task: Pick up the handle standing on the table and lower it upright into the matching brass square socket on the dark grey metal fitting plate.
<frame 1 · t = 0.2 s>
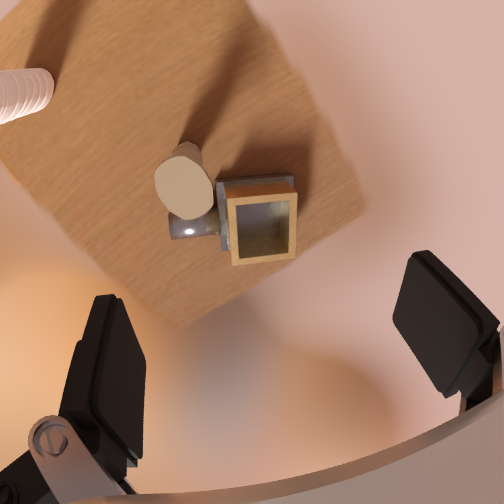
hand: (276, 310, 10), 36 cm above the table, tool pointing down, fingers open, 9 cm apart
handle: (187, 151, 41), on the table
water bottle: (41, 83, 31), on the table
socket: (254, 210, 47), on the table
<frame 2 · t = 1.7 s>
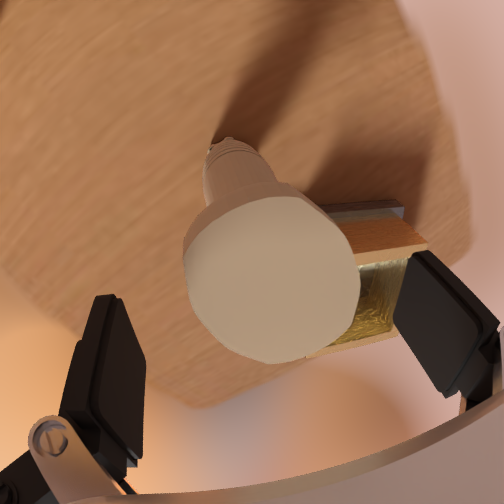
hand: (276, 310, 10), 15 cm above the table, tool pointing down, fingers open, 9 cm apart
handle: (228, 156, 22), on the table
socket: (335, 258, 28), on the table
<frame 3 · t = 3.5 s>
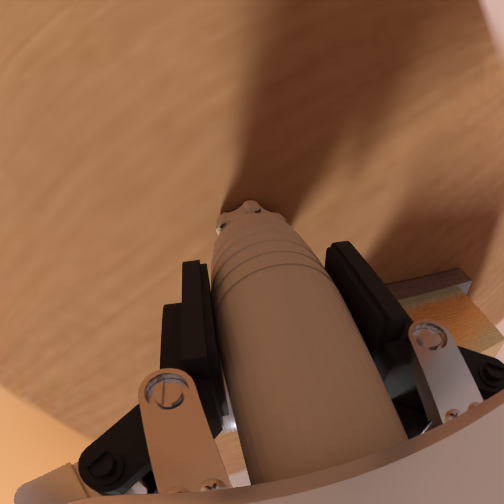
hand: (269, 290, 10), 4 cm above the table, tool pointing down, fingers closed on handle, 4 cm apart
handle: (248, 229, 14), on the table, touching gripper
socket: (380, 343, 20), on the table
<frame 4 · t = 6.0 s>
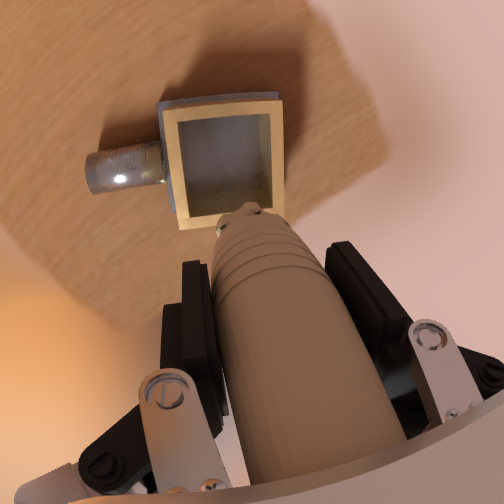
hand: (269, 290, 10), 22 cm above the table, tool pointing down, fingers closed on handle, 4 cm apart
handle: (248, 230, 14), point 18 cm above the table, touching gripper
socket: (221, 149, 29), on the table
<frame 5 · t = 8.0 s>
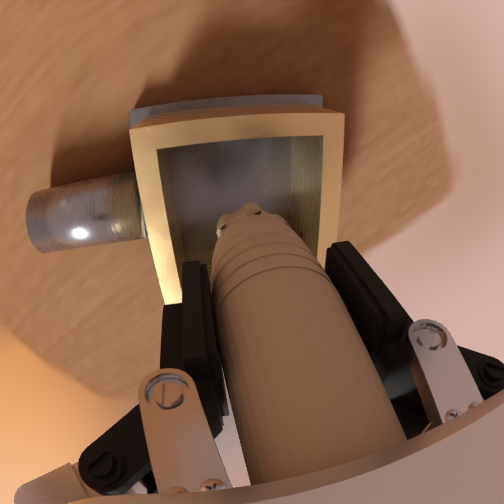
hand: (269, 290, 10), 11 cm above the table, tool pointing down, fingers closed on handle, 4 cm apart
handle: (248, 231, 14), point 7 cm above the table, touching gripper
socket: (231, 181, 20), on the table
when the fingers open (8 cm above the table, at t = 9.0 s): handle drops 2 cm, resting on socket.
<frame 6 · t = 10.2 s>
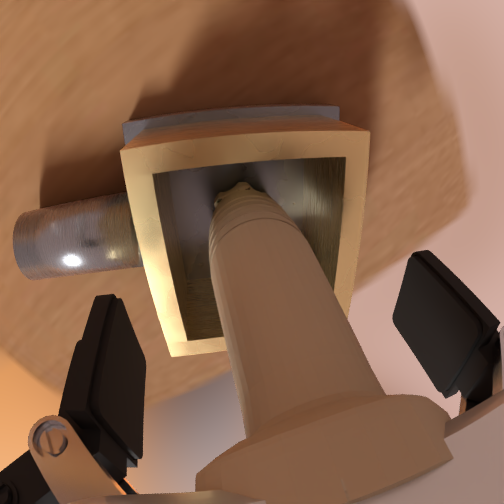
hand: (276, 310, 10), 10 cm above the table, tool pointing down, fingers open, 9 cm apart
handle: (240, 207, 17), point 1 cm above the table, touching socket
socket: (237, 201, 18), on the table
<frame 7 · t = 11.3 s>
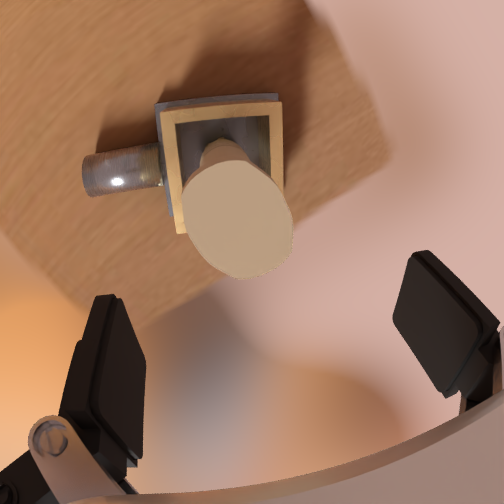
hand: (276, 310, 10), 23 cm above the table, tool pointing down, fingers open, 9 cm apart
handle: (221, 153, 28), point 1 cm above the table, touching socket
socket: (219, 151, 29), on the table
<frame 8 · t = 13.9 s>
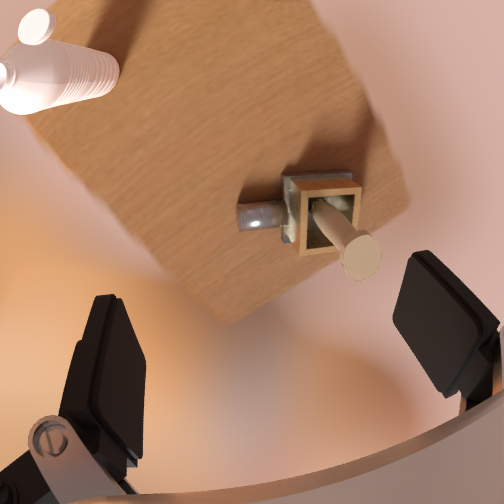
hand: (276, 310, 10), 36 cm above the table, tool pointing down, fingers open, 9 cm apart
handle: (318, 206, 48), point 1 cm above the table, touching socket
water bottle: (103, 68, 33), on the table
socket: (315, 204, 49), on the table
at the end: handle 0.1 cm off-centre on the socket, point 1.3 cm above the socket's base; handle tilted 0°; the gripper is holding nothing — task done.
